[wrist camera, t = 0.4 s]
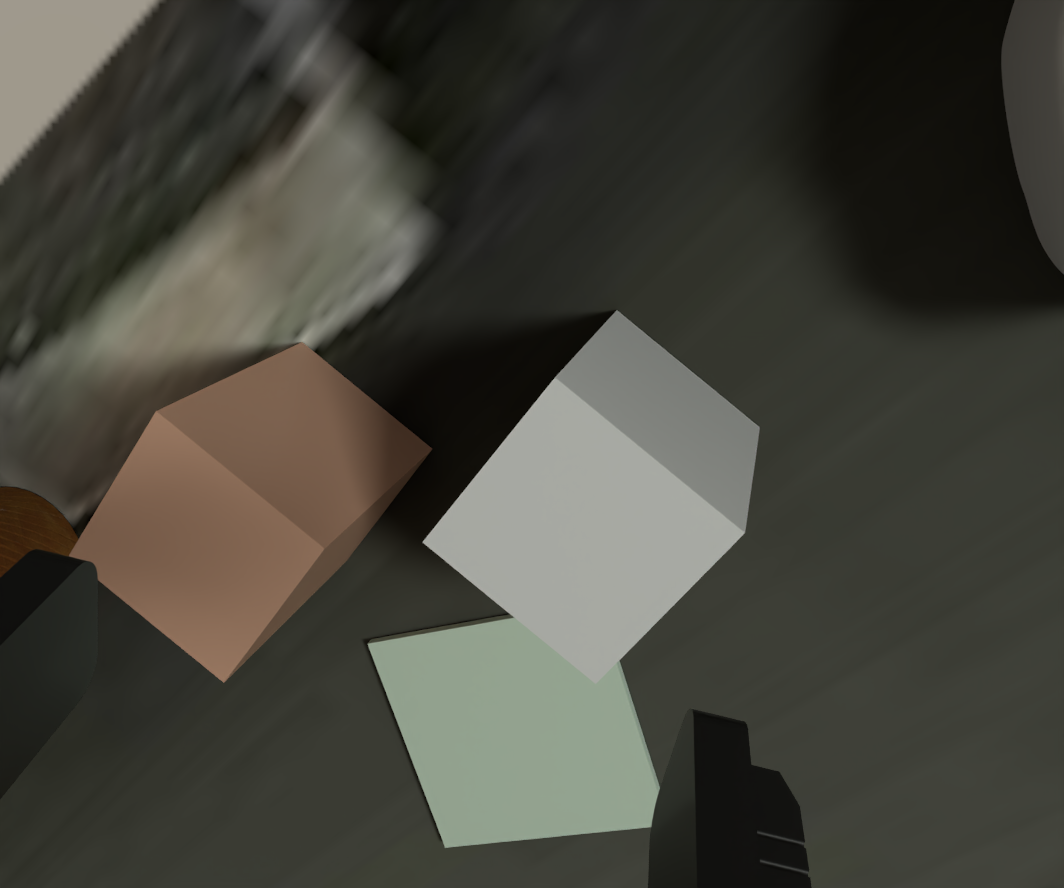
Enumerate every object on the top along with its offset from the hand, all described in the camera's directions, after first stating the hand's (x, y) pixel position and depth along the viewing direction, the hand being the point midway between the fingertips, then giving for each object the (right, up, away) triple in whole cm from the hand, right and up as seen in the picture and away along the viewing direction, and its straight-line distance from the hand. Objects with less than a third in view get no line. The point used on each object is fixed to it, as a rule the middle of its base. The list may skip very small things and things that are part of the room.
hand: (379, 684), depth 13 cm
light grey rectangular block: (+6, +3, +23) cm, 24 cm away
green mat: (+1, -8, +28) cm, 29 cm away
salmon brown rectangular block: (-6, +3, +26) cm, 27 cm away
